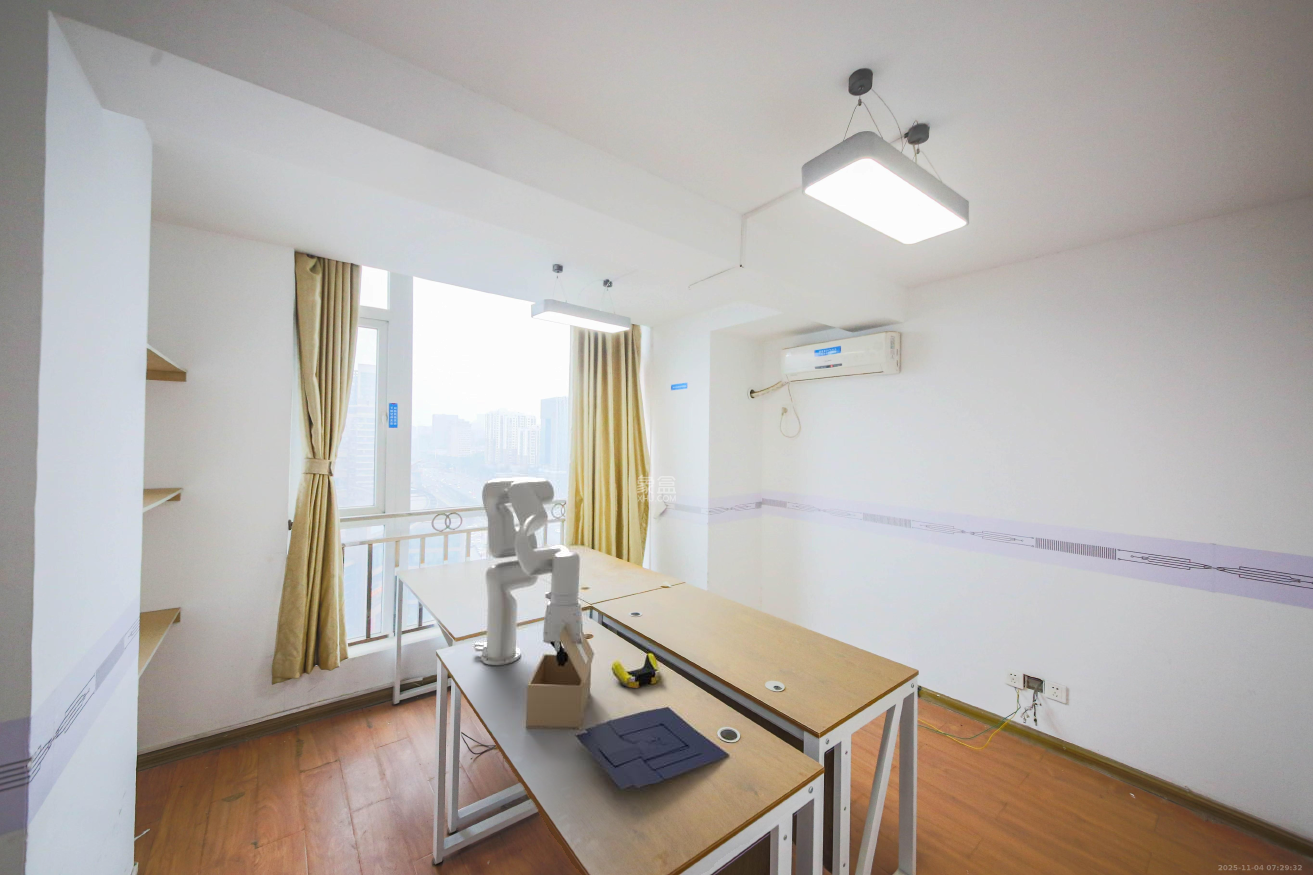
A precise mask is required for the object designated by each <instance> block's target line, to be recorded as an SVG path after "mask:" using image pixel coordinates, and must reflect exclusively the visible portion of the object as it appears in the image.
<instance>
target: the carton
mask: <svg viewBox="0 0 1313 875" xmlns="http://www.w3.org/2000/svg"><path fill="white" fill-rule="evenodd" d="M556 656H557V653H555V654H554V653H553V654H552V653H550V654H549V653H543V654H542V657H541V658H540V660H539V662H538V664H537V666H536V668H535V670H534V671H533V674H532V676H531V677H530V679H529V681H528V684H527V685H526V688H527V689H526V711H525V712H526V713H525V714H526V715H525V719H526V720H525V728H526V729H548V730H549V729H550V730H573V731H574V730H579V731H580V730H581V728H582V725H583V722H584V719H585V718H584V717H585V715H586V711H587V707H588V703H589V699H590V696H591V678H592V665H591V666H590V670H589V673H588V677H587V680H586V683H585V684H584V685H583V683H582V681H581V679H580V677H579V675H578V673H577V671H576V669H575V667H574V665H573V664H572V662H571V660H570V658H569V656H568V662H566V663H565V665H564V667H562V666H558V662H556Z"/></svg>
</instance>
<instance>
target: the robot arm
mask: <svg viewBox="0 0 1313 875" xmlns="http://www.w3.org/2000/svg"><path fill="white" fill-rule="evenodd" d="M554 497H555V490H554V487H553V485H552V483H551V482H550V481H549V480H547V479H545V478H538V477H537V478H536V477H513V478H511V477H508V478H494V479H492V480H491V479H490V480H489V481H487V482H486V483H485V484H484V485H483V488H482V492H481V498H482V499H481V500H482V503H483V504H482V505H483V508H484V511H485V513H486V518H487V534H488V549H489V554H490V556H491V557H492V558H493V559H507V558H514V557H516V560H509V561H504V562H503V561H502V562H498V563H494V564H493V565H491V566H489V567H488V569H487V570H486V571H485V576H484V578H485V586H486V594H487V595H486V596H487V608H486V609H487V611H486V612H487V615H486V617H487V619H486V641H485V642H475V643H474V646H473V649H474V651H475V652H481V655H480V661H481V662H482V663H483V664H486V665H489V666H502V665H503V666H504V665H509V664H512V663H514V662H515V661H517V660H518V659H519V658H520V657H521V649H520V648H519V647H517V628H518V626H517V625H518V624H517V622H518V603H517V599H516V598H515V597H514V596H513V594H512V593H511V592H512V591H515V590H520V589H524V588H528V587H532V586H534V585H536V583H537V582H538V580H539V579H538V578H539V576H542V575H548V574H550V575H551V578H550V580H551V584H550V591H548V592H545V595H544V596H545V598H547V599H549V601H548V602H547V605H546V607H545V608H546V609H545V614H544V620H543V629H542V630H543V632H542V637H543V639H542V642H543V643H546V644H550V645H551V647H553V648H554V651H555V652H556V654H557V656H556V662H558V666H562V667H564V665H565V663H566V662H568V654H567V652H566V650H565V648H564V646H563V644H562V642H561V640H560V638H559V635H560V633H561V631H562V629H563V627H565V628H566V630H567V632H568V634H569V636H570V638H571V640H572V642H573V643H575V642H576V643H577V645H578V644H581V643H582V641H583V639H582V631H583V625H584V624H583V611H582V610H583V608H582V603H581V601H580V600H579V594H580V593H579V592H580V591H579V590H580V567H581V566H580V565H581V562H580V561H581V557H580V554H579V553H578V552H575V551H573V550H571V549H570V548H569V547H567V546H566V545H563V544H556V545H548V546H541V547H538V540H537V537H536V534H535V532H537V531H539V530H540V529H541V528H543V527H544V526H545V525H546V523H547V522H548V518H549V516H548V515H549V514H548V512H547V511H546V509H545V507H544V506H545V505H550V503H552V502H553V500H554ZM507 504H511V506H512V509H513V511H512V510H511V509H510V508H509V507H508V505H507ZM513 512H514V513H515V516H514V513H513ZM515 517H516V518H517V521H518V523H519V525H520V527H515Z"/></svg>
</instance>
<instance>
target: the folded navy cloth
mask: <svg viewBox="0 0 1313 875" xmlns="http://www.w3.org/2000/svg"><path fill="white" fill-rule="evenodd" d="M584 730H585V731H586V732H583V733H579V734H575V735H574V737H576V739H577V740H578V741H579V742H580V743H581V744H582V745H583V746H584V747H585V749H586V750H587V751H588V752H589V753H590V754H591V756H592V757H594V758H595V760H596V761H597V762H598V763H599V765H600V766H601V767H602V768H603V769H604V771H605V773H607V774H608V776H610V778H611V779H612V780H613V782H615V784H616V785H617V786H618V788H620V790H623V789H625V788H629V787H632V786H634V785H635V787H636V788H642V787H644V786H647V785H650V784H652V785H655V784H656V783H659V782H663V781H665V780H667V779H669V778H672V777H675V776H678V775H680V774H683V773H685V772H688V771H691V770H694V769H696V768H699V767H701V766H703V765H706V764H709V763H714V762H715V761H719V760H721V759H723V758H725V757H727V756H729V755H730V753H728V752H726V751H725V750H724V749H722V748H721V747H719V746H718V745H717V744H715V743H714V742H713V741H711V740H710V739H709V738H707V737H706V736H704V735H703V734H702V733H701V732H699V731H698V730H696V728H694V727H693V726H692V725H690V724H689V722H687V721H685V720H684V719H683V718H682V717H681V716H680V715H678V714H677V713H676V712H675V711H674V710H672V709H671V708H670V707H669V706H664V707H662V708H661V707H660V708H655V709H651V710H645V711H644V710H643V711H641V712H637V713H633V714H630V715H629V714H628V715H626V716H621V717H618V718H614V719H610V720H607V721H606V722H602V723H598V724H595V726H592V727H588V728H585V729H584Z"/></svg>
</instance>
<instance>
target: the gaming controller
mask: <svg viewBox="0 0 1313 875" xmlns="http://www.w3.org/2000/svg"><path fill="white" fill-rule="evenodd" d="M643 664H644V665H643V666H642V667H641V668H638V669H634V670H629V671H628V670H626V669H625V668H624V666H623V665H622V663H620V661H619V660H615V661H613V663H612V666H611V670H612V671H611V672H612V674H613V676H614V677H616V679H617V680H618V681H619V682H620V683H622V684H623V685H624V686H625V687H627V688H633V689H638V688H641V687H644V686H648V685H653V684H655V683H657V681H658V680H659V679H660V669H659V666H658V661H657V658H656V657H655V655H654V654H653V653H647V654H646V656H645V660H644V663H643Z"/></svg>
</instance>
